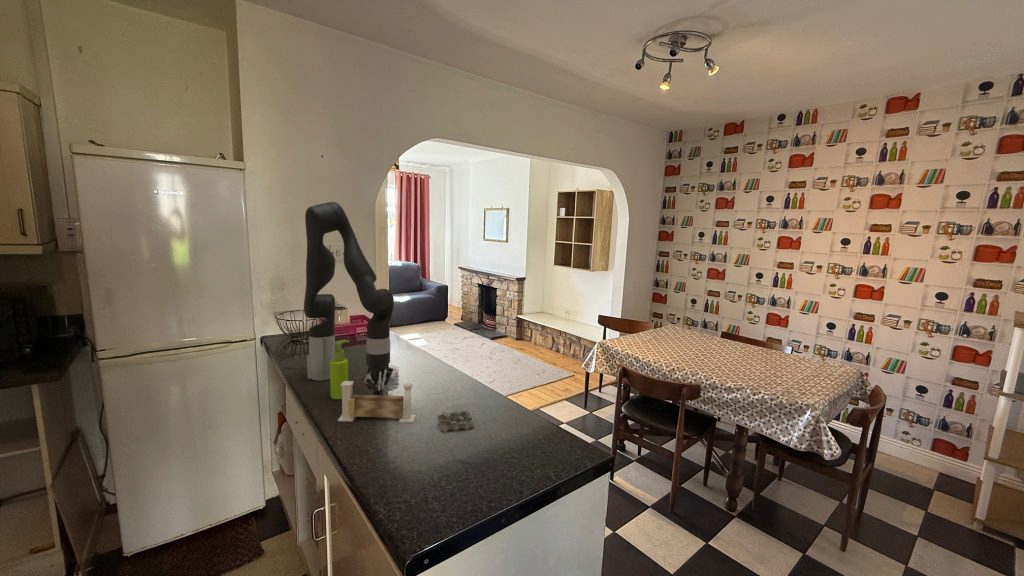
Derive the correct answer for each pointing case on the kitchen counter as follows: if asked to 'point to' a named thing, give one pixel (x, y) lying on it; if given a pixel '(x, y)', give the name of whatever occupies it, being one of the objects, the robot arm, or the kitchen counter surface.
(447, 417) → the egg carton
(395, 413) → the gate
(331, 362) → the soap dispenser
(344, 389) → the post
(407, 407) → the hinge post
